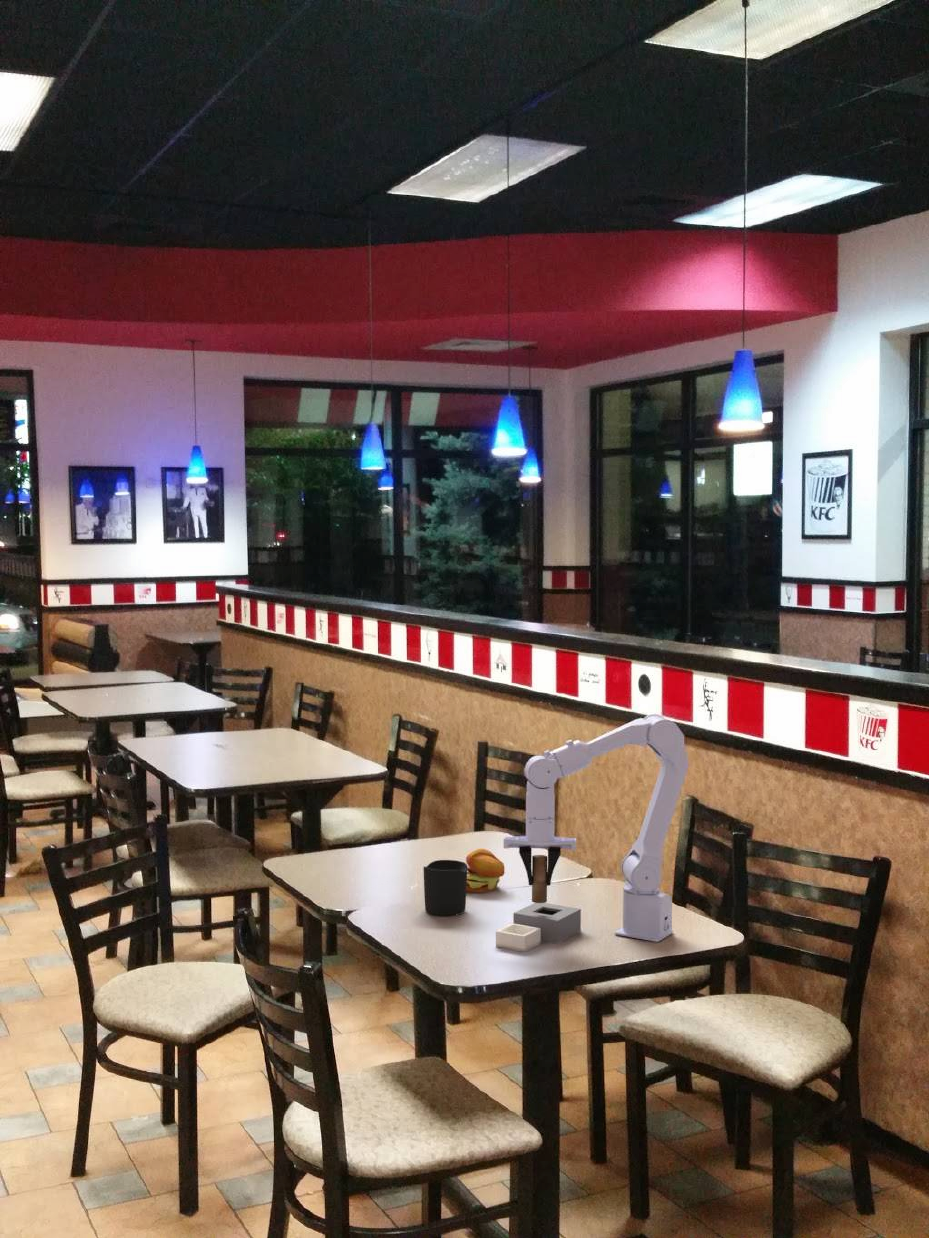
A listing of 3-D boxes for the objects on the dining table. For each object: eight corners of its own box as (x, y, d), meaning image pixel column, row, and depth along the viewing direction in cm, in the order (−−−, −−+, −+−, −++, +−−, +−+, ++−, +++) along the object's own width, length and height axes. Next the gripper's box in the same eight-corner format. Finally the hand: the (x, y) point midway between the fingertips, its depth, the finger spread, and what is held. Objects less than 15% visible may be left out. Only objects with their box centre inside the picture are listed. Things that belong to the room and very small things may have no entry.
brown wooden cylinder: (549, 900, 245) (550, 856, 245) (541, 903, 243) (542, 859, 242) (537, 898, 247) (537, 854, 247) (529, 901, 244) (529, 856, 244)
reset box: (580, 930, 249) (580, 908, 248) (557, 943, 240) (557, 920, 240) (537, 923, 254) (537, 901, 254) (513, 935, 246) (513, 912, 245)
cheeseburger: (468, 879, 289) (477, 840, 287) (506, 896, 284) (516, 856, 282) (446, 888, 280) (455, 847, 279) (485, 906, 275) (495, 864, 274)
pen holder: (474, 913, 261) (474, 867, 260) (435, 919, 256) (435, 872, 256) (455, 903, 269) (455, 858, 269) (416, 908, 265) (416, 862, 264)
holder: (540, 943, 240) (540, 928, 240) (524, 951, 235) (524, 936, 235) (512, 938, 244) (512, 923, 244) (495, 946, 238) (495, 931, 238)
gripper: (575, 813, 248) (575, 879, 248) (504, 812, 248) (503, 878, 249) (577, 820, 241) (576, 888, 241) (503, 819, 241) (502, 887, 242)
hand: (539, 884), depth 245 cm, fingers closed on brown wooden cylinder, 3 cm apart
